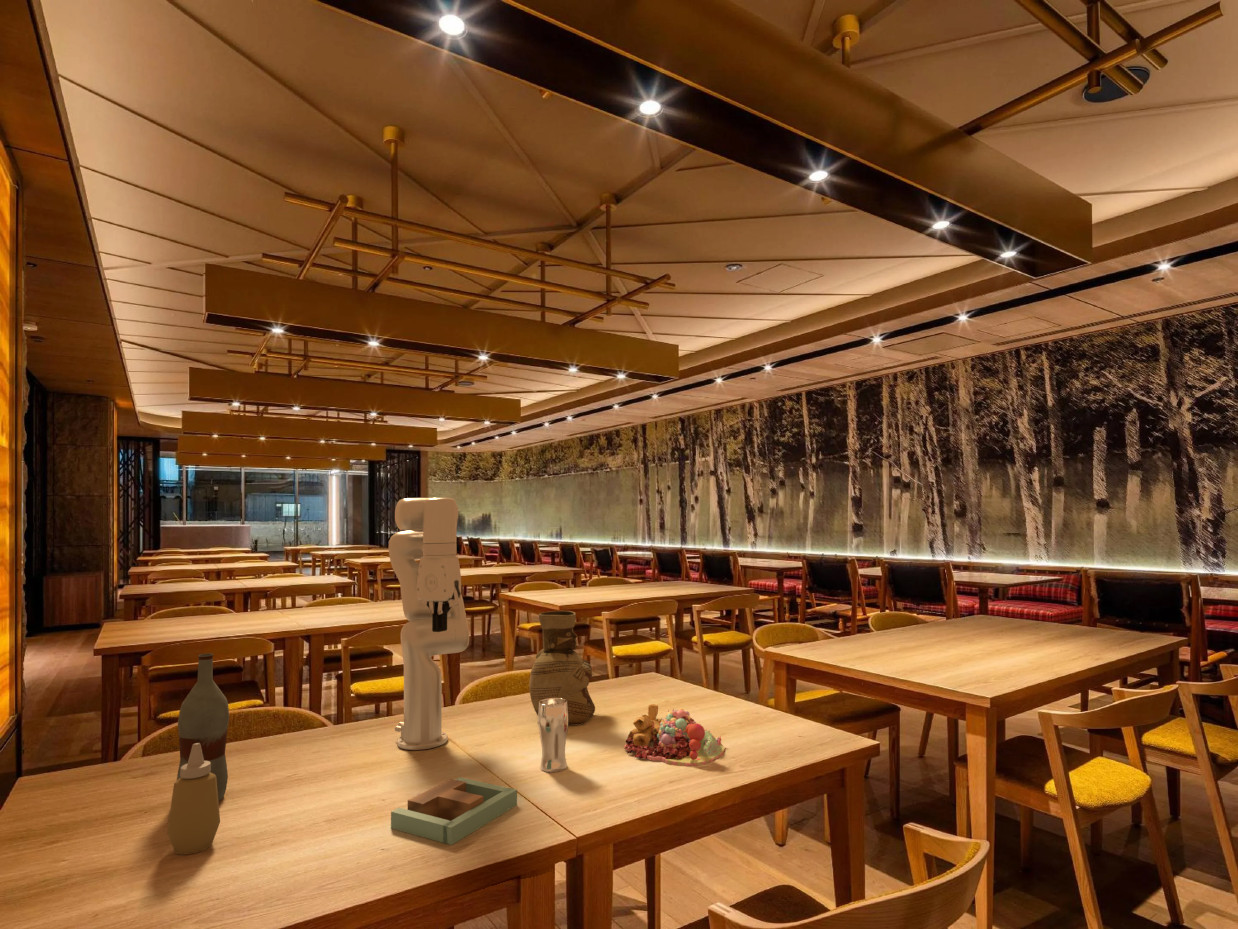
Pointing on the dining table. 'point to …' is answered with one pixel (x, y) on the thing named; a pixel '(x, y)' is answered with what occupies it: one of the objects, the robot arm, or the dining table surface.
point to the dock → (460, 827)
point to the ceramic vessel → (561, 668)
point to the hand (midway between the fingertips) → (439, 631)
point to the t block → (445, 800)
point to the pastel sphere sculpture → (672, 739)
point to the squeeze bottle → (194, 806)
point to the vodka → (205, 723)
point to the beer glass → (553, 733)
